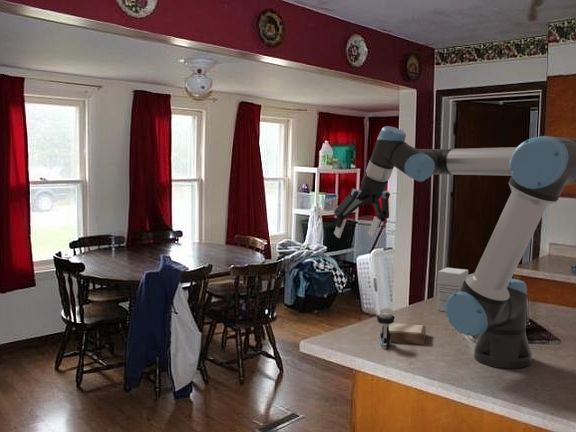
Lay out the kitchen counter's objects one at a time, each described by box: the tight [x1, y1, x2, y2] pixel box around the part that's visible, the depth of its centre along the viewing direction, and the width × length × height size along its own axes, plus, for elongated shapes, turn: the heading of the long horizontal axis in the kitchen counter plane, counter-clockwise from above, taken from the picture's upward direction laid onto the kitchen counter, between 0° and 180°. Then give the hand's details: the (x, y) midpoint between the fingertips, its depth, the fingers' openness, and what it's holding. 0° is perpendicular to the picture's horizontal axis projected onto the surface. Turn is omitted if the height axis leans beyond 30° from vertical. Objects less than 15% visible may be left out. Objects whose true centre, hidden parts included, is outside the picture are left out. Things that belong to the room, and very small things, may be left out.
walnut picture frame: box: [388, 322, 427, 345], centre depth 181 cm, size 12×10×3 cm
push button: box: [376, 311, 395, 349], centre depth 173 cm, size 7×5×10 cm
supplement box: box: [436, 267, 469, 313], centre depth 214 cm, size 9×9×15 cm
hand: (354, 235), depth 183 cm, fingers open, 13 cm apart
